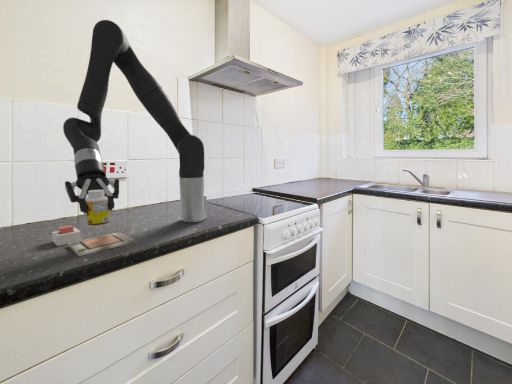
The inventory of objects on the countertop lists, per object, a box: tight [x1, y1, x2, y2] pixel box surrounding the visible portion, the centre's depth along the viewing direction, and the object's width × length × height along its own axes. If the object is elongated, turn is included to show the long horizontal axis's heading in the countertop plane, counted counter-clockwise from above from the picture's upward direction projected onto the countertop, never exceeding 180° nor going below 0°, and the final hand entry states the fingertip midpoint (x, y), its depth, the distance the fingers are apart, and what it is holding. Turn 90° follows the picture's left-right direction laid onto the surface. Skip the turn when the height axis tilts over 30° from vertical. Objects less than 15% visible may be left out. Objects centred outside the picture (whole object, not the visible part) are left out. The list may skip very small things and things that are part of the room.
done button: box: [57, 224, 74, 234], centre depth 76 cm, size 3×3×2 cm
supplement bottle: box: [85, 190, 111, 228], centre depth 72 cm, size 6×6×10 cm
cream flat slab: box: [67, 232, 135, 257], centre depth 74 cm, size 14×11×1 cm
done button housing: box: [51, 227, 83, 247], centre depth 77 cm, size 6×6×3 cm
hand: (98, 210), depth 71 cm, fingers closed on supplement bottle, 5 cm apart
